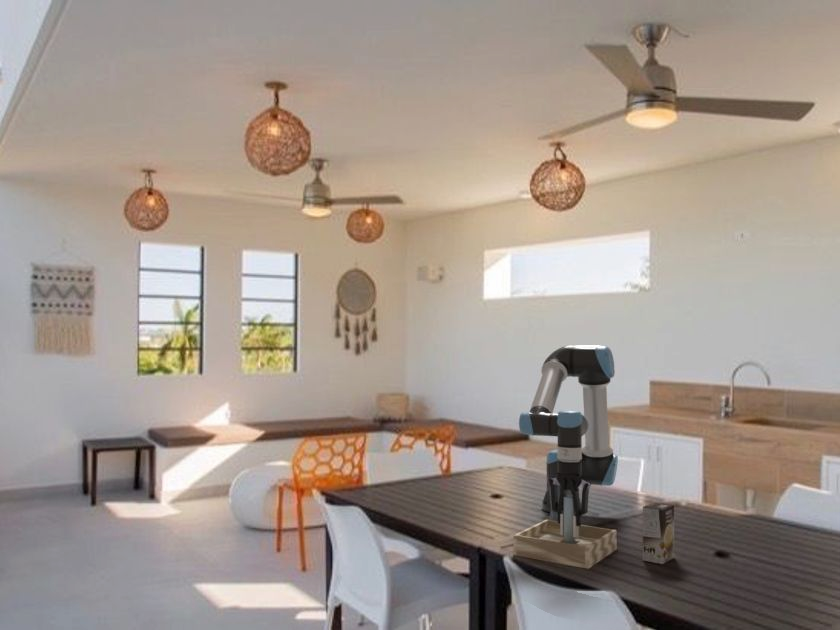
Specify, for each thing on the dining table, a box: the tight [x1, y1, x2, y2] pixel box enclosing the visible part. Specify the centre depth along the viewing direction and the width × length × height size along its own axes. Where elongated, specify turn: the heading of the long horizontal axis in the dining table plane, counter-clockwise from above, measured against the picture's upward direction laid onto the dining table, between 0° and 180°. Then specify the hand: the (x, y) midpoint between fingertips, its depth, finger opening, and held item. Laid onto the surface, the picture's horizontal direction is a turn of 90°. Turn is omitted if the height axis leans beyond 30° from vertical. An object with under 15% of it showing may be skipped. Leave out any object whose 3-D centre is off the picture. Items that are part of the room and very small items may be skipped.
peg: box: [564, 496, 575, 543], centre depth 237 cm, size 4×4×14 cm
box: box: [512, 519, 618, 570], centre depth 235 cm, size 24×24×6 cm
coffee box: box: [642, 502, 675, 565], centre depth 228 cm, size 9×6×16 cm
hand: (569, 535), depth 237 cm, fingers closed on peg, 3 cm apart
